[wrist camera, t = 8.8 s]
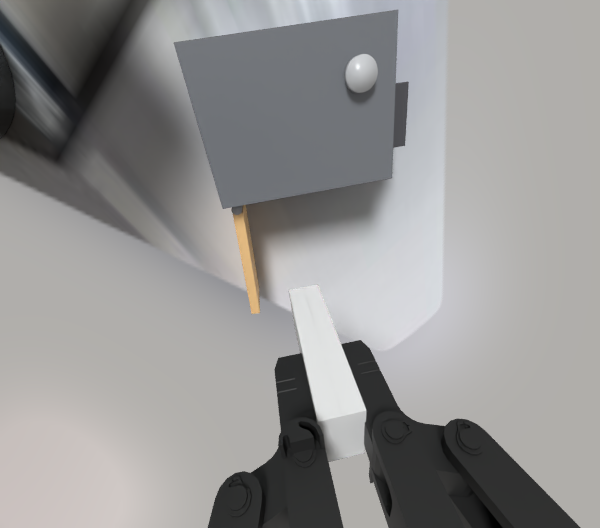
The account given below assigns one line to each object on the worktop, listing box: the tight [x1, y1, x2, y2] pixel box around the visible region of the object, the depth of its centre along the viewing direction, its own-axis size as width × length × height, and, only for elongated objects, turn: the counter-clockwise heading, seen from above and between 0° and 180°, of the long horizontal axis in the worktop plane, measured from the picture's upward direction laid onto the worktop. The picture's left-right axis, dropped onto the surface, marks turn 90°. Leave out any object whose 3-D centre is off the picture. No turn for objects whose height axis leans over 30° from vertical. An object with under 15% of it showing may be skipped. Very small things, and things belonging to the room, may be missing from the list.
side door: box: [232, 205, 260, 314], centre depth 33 cm, size 14×1×6 cm, turn 3°
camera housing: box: [174, 10, 409, 209], centre depth 26 cm, size 18×12×9 cm
